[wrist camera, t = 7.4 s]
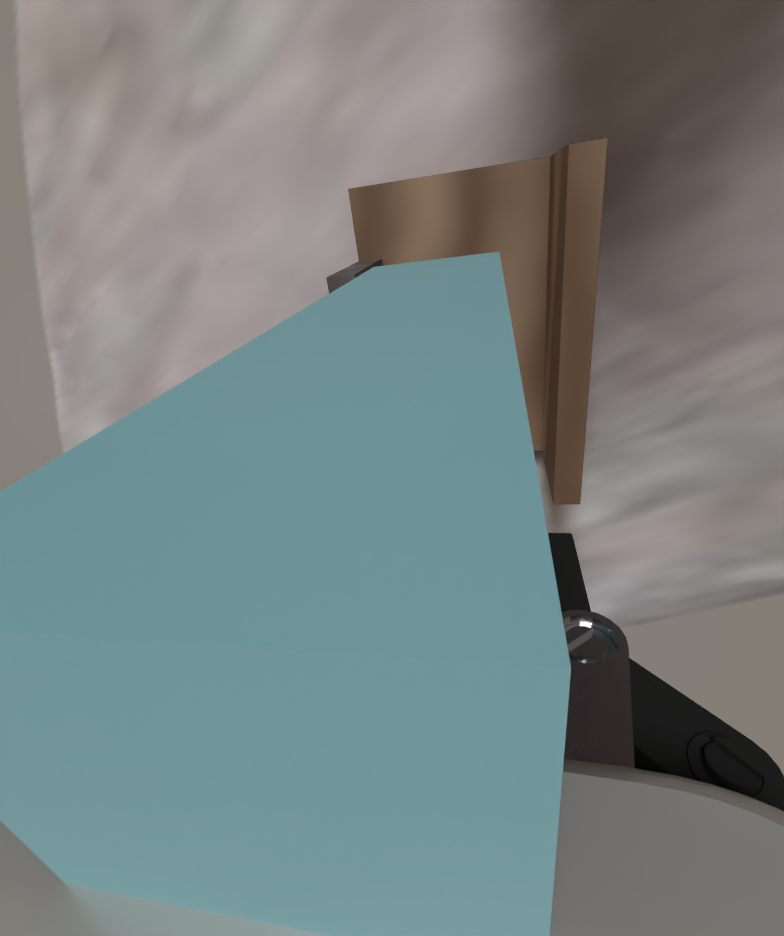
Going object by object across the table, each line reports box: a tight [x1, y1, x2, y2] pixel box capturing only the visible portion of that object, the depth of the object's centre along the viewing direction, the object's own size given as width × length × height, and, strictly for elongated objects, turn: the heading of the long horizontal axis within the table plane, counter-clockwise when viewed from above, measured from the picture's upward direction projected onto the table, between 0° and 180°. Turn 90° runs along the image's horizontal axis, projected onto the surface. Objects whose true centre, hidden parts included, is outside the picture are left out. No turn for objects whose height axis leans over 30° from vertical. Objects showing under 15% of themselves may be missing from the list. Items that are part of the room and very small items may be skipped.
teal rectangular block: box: [0, 252, 571, 936], centre depth 11 cm, size 4×12×15 cm, turn 7°
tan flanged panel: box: [327, 138, 608, 504], centre depth 28 cm, size 13×18×8 cm
